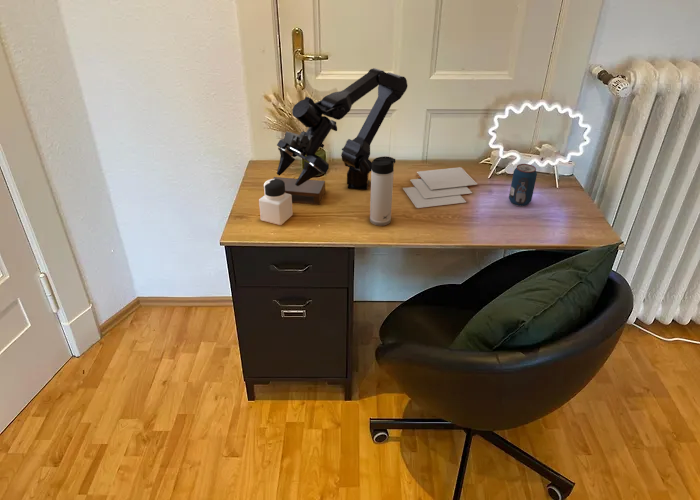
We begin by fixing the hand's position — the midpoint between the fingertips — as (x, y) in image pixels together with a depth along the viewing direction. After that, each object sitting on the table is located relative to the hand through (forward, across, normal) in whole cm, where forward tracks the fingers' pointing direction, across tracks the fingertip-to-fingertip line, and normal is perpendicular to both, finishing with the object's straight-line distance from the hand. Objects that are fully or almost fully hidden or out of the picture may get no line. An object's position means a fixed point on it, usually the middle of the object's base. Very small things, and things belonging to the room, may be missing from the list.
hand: (287, 180), depth 159 cm
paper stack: (-26, +19, +42) cm, 53 cm away
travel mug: (-5, +22, +21) cm, 30 cm away
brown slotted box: (+2, -7, +14) cm, 16 cm away
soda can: (-34, +42, +50) cm, 74 cm away
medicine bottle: (+11, 0, +5) cm, 12 cm away
